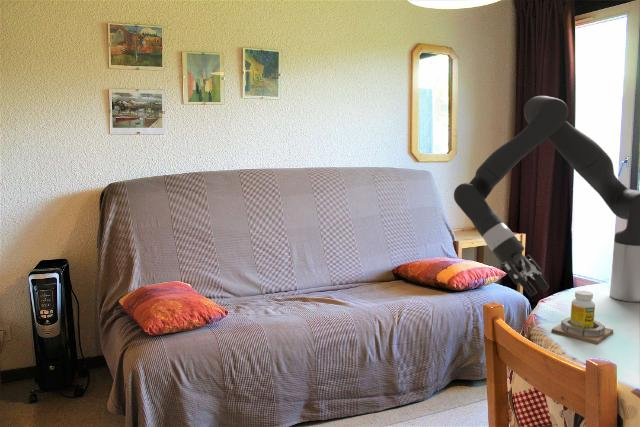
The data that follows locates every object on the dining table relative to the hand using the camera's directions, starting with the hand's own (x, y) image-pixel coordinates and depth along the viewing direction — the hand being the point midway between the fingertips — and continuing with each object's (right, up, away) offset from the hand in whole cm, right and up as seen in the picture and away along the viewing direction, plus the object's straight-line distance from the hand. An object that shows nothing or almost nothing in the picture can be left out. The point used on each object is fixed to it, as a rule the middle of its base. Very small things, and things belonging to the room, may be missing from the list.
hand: (540, 291), depth 145 cm
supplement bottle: (+7, -9, -7) cm, 13 cm away
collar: (+8, -9, -7) cm, 14 cm away
